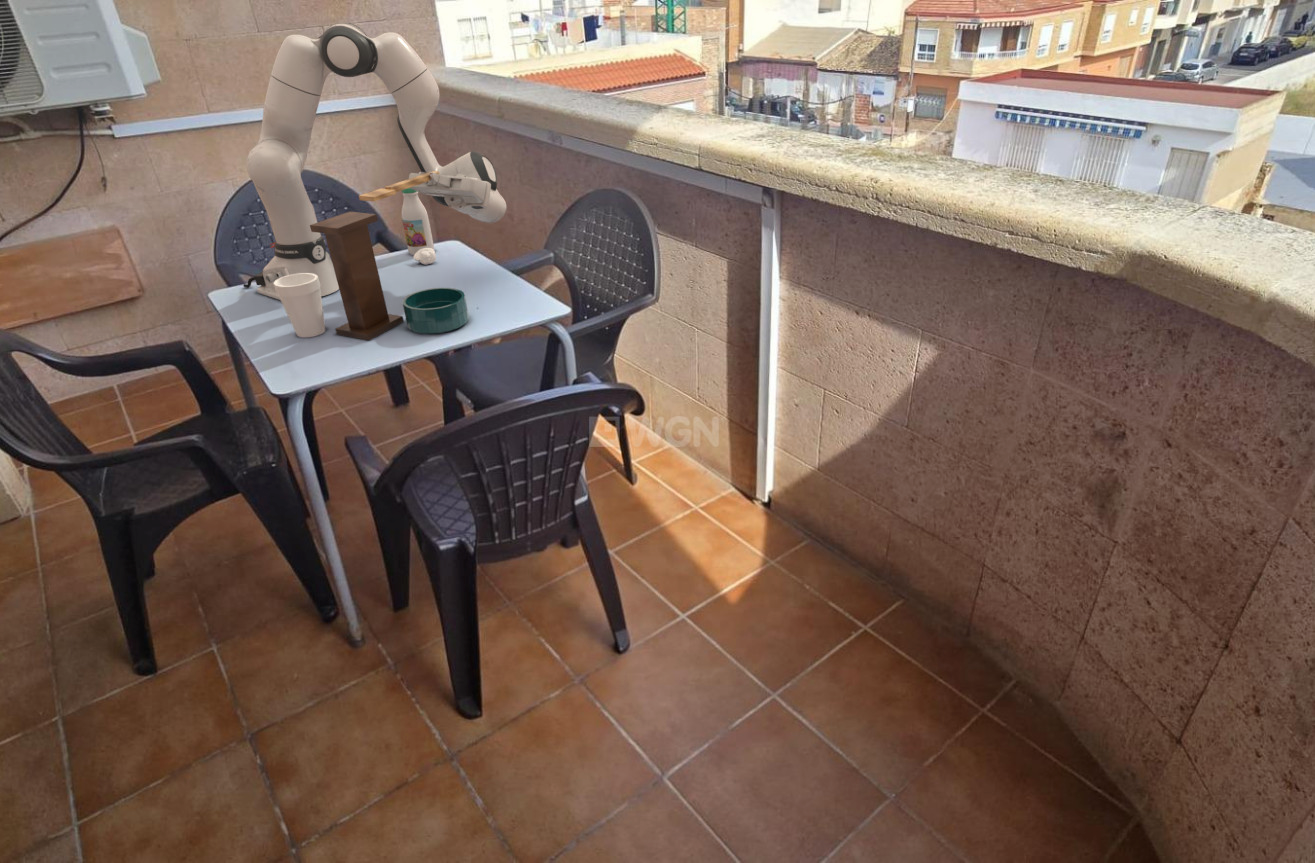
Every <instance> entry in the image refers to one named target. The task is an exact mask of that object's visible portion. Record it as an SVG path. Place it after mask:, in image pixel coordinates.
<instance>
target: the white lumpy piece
mask: <svg viewBox="0 0 1315 863" xmlns="http://www.w3.org/2000/svg"><path fill="white" fill-rule="evenodd" d="M412 258H413V260H414V261H416V262H420V264H422V265H424V266H425V265H431V264H434V263H435V261H436V259H437V256H436V250H435V249H434V250H433V249H432V248H423V249H420V250H418V251H417V252H416V253H415V255H413V256H412Z"/></svg>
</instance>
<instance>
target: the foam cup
mask: <svg viewBox="0 0 1315 863" xmlns="http://www.w3.org/2000/svg"><path fill="white" fill-rule="evenodd" d="M273 284H274V287H275V290H276V293H277V294H278V295H279V298H280V300H279V301H280V302H281V304H282V306H283V308H284V310H285V313H286V315H287V317H288V320H289V321H290V323H291V325H292V328H293V329H294V332H295V333H296V336H298V338H299V337H300V338H312V337H317V336H319V335H322V334H323V333H325V332H326V324H325V315H324V308H323V300H322V296H321V292H320V282H319V278H318V276H317V275H316V274H312V273H298V274H292V275H287V276H284V277H281V278H279V279H277V280H275V282H274V283H273Z"/></svg>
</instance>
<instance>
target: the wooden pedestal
mask: <svg viewBox="0 0 1315 863" xmlns="http://www.w3.org/2000/svg"><path fill="white" fill-rule="evenodd" d="M378 221H379V218H378V215H377V214H376V213H369V212H368V213H366V212H357V211H347V212H344V213H341V214H338V215H335V216H332V217H330V218H329V217H328V218H326V219H324V220H321V221H317V223H315V224H312V225H310V228H311V232H317V233H320V234H324V237H325V242H326V246H327V248H328V251H329V256H330V259H331V261H332V264H333V267H334V271H335V275H336V279H337V282H338V286H339V289H338V290H339V294H340V297H341V301H342V304H343V305H342V306H343V308H344V312H345V313H344V314H345V316H346V319H347V322H346V323H343V324H341V325H340V326H338V327H335V328H334V330H335V334H336V335H338V336H341V337H342V336H343V337H346V338H347V337H348V338H354V339H358V340H359V339H360V340H365V341H371V340H373V339H375V338H376V337H378V336H380V335H383V334H384V333H386V332H388V331H390V330H392V329H393V328H394V327H397V326H398V325H401V324H402V323H405V321H404V317H403V315H398V314H392V313H388V307H387V304H386V300H385V296H384V291H383V286H382V282H381V277H380V273H379V270H378V269H379V268H378V265H377V261H376V257H375V251H374V248H373V244H372V241H371V240H372V239H371V236H370V230H369V227H368V225H371V224H373V223H375V222H378Z"/></svg>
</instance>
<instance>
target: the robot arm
mask: <svg viewBox="0 0 1315 863" xmlns="http://www.w3.org/2000/svg"><path fill="white" fill-rule="evenodd" d="M331 73H334V74H335V75H338V76H339V77H344V78H355V77H360V76H362V75H366V74H372V73H373V74H375V75H376V76H377V77H378V78H379V79H380V80H381V82H382V83H383V84H384V86H385V87H386V88H387V90H388V92H389V93H390V94H391V96H392V97H393V99H394V101H395V104H396V106H397V111H398V114H397V116H396V120H397V121H396V122H397V126H398V128H399V131H400V133H401V135H402V137H403V138H404V141H405V143H406V145H407V147H408V149H409V151H410V153H411V154H412V157H413V158H414V160H415V163H416V164H417V166H418V168H419V170H420V171H419V172H418V173H416V172H411V173H409V175H408V179H411V178H414V177H417V176H420V175H423V174H426V173H429V172H432V171H438V172H439V174H437V173H430V174H429V175H430V176H429V180H431V181H428V182H425V183H422V184H419V185H416V186H413V187H410V189H413V190H415V191H418V193H419V194H423V195H427V196H430V197H432V198H433V200H434V201H435V202H436V203H438V204H439V205H442V206H445V207H448V208H451V209H453V210H455V211H457V212H459V213H461V214H464V215H468V216H470V217H471V218H473V219H474V220H476V221H478V222H482V223H486V224H495V223H498V222H499V221H501V220H502V219H503V218H504V216H505V214H506V213H507V203H506V200H505V198H504V197H503V196H502V195H501V193H500V192H499V190H498V189H497V187H498V176H497V171H496V168H495V166H494V163H493V162H492V161H491V160H490V159H489V158H488V157H487V156H486V155H484V154H483V153H481V152H479V151H476V150H471V151H469V152H466V153H465V154H463V155H462V156H460V157H458V158H456V159H455V160H452V161H451V162H450V163H448V164H446V165H444V166H443V165H440V164H439V162H438V160H437V158H436V156H435V154H434V153H433V150H432V148H431V146H430V144H429V143H428V141H427V138H426V135H425V131H426V130H425V129H426V126H427V124H428V122H429V121H430V120H431V117H432V116H433V114H435V112H436V110H437V108H438V105H439V103H440V88H439V85H438V83H437V81H436V79H435V78H434V75H432V73H431V71H430V70H429V68H428V67H427V65H426V64H425V62H424V61H423V60H422V58H421V57H420V56H419V55H418V53H417V52H416V50H415V49H414V48H413V47H412V45H410V43H409V42H408V41H406V39H405V38H404V37H403V36H402V35H401V34H400V33H397V32H392V31H389V32H385V33H381V34H380V35H378V36H376V37H373V38H372V37H369V36H368V35H367V34H366V33H365V32H364V30H362V28H360V27H359V26H357V25H355V24H353V23H351V22H336V23H333V24H331V25H329V26H328V27H327V28H326V29H325V31H324V32H322V34H321V35H320V36H319V37H318V38H317V39H314V38H311V37H309V36H306V35H302V34H290V35H288V36H286V37H285V38H284V40H283V41H282V44H281V46H280V47H279V50H278V52H277V55H276V57H275V60H274V62H273V66H272V68H271V74H270V77H269V80H268V86H267V90H266V95H265V99H264V103H263V108H262V110H263V111H262V119H261V120H262V121H261V128H260V135H259V138H258V142H257V144H256V145H255V146H254V147H253V148H251V150H250V151H249V152H248V155H247V157H246V170H247V173H248V177H249V178H250V179H251V181H252V182H253V185H254V187H255V190H256V193H257V194H258V196H259V198H260V200H261V202H262V204H263V207H264V209H265V212H266V214H267V217H268V221H269V224H270V226H271V229H272V233H273V237H274V240H275V241H274V242H272V243H269V246H270V249H274V256H273V257H272V259H270V261H269V262H268V263H267V264H266V265H265V266H264V267H263V269H262V271H261V272H259V273H257V274H255V275H254V276H253V277H250V278H249V279H248V280H247V284H246V283H243V285H242V286H243V288H246V289H247V288H248V289H249V288H250V287H251V286H252V282H253V281H255V283H256V286H259V287H258V288H256V291H257V293H258V294H260V295H263V296H266V297H269V298H273V299H276V300H278V301H281V300H280V298H279V295H278V294H277V293H276V290H275V287H274V284H273V283H274V282H275V280H277V279H279V278H281V277H284V276H287V275H292V274H298V273H312V274H316V275H317V276H318V278H319V282H320V292H321V297H324V296H328V295H331V294H333V293H335V292H337V291H338V290H339V286H338V282H337V279H336V275H335V271H334V267H333V264H332V260H331V256H330V253H328V251H327V244H326V239H324V236H323V235H322V233H317V232H311V228H310V225H312V224H315V223H318V219H317V215H316V212H315V208H314V205H313V202H311V200H310V198H309V195H308V193H307V190H306V188H305V185H304V182H303V178H302V175H301V174H302V173H303V171H304V169H305V165H306V161H307V157H308V153H309V152H308V151H309V149H310V148H309V147H310V144H311V138H312V132H313V127H314V123H315V119H316V116H317V112H318V108H319V103H320V100H321V96H322V93H323V88H324V86H325V82H326V79H327V77H328V76H329V74H331Z"/></svg>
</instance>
